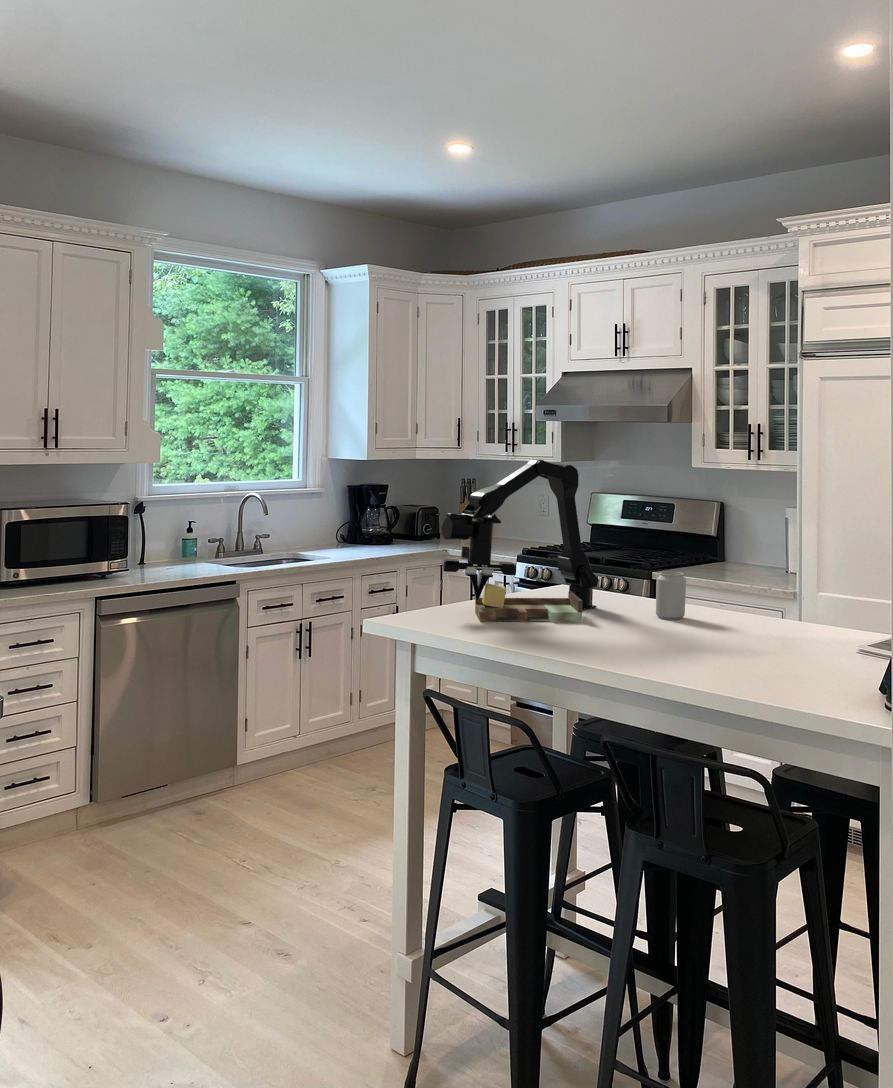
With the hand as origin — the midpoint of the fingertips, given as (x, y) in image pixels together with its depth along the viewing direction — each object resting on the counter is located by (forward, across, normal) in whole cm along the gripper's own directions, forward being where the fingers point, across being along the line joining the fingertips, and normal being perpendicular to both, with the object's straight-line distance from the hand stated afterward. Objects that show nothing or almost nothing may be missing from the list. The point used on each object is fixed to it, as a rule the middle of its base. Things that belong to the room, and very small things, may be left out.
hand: (477, 599), depth 255 cm
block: (+1, -4, 0) cm, 4 cm away
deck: (+4, -13, +2) cm, 14 cm away
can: (+2, -51, +2) cm, 51 cm away
